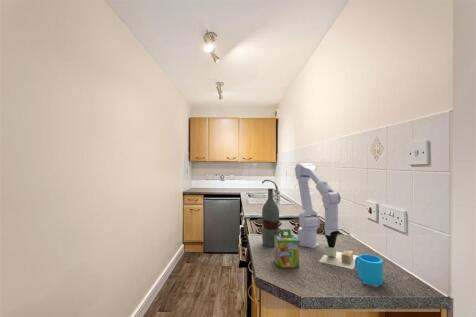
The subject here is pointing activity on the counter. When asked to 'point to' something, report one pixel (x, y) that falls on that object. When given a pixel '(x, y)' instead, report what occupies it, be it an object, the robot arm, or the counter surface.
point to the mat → (337, 260)
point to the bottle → (270, 220)
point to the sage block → (330, 251)
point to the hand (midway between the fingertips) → (331, 247)
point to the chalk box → (286, 250)
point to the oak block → (347, 257)
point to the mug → (370, 269)
